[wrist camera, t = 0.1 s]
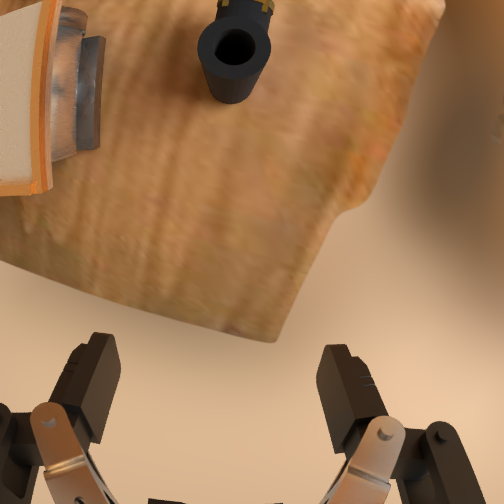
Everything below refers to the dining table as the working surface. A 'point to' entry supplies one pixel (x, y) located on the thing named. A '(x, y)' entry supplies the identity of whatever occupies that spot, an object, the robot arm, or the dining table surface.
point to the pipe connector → (236, 48)
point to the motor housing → (46, 93)
